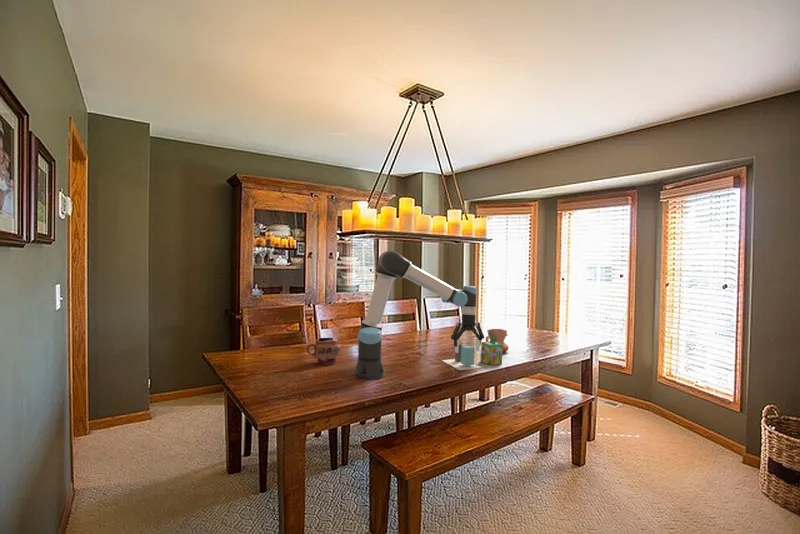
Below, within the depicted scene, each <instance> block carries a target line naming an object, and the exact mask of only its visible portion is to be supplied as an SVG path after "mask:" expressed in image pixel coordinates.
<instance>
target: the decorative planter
mask: <svg viewBox="0 0 800 534" xmlns="http://www.w3.org/2000/svg"><path fill="white" fill-rule="evenodd" d="M312 347H313V348H314V352H313V353H311V352H310V351H309V349H310V348H312ZM342 349H343V345H342V344H341V343H340V341H339V339H337V338H334V337H319V338H317V339H316V340H315V342H311V343H308V344H307V345H306V347H305V350H306V351H305V352H306V353H307V354H308V355H310V356H311V357H313V358H315V359H316V358H317V363H318V364H319V365H321V366H322V365H324V366H325V365H327V366H328V365H333V364H336V363H337V355H338V354H339V352H340V351H341V350H342Z"/></svg>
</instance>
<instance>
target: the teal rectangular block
mask: <svg viewBox="0 0 800 534" xmlns="http://www.w3.org/2000/svg"><path fill="white" fill-rule="evenodd" d="M461 364H463V365H465V366H467V365H474V364H475V347H474V346H471V345H462V346H461Z"/></svg>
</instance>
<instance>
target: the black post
mask: <svg viewBox="0 0 800 534" xmlns="http://www.w3.org/2000/svg"><path fill="white" fill-rule="evenodd" d="M461 346H463V345H462V343H459V348H458V353H456V352H455V351H454V359H455V361H456V362H461Z"/></svg>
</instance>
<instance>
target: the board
mask: <svg viewBox="0 0 800 534" xmlns="http://www.w3.org/2000/svg"><path fill="white" fill-rule="evenodd" d="M441 362H443V363H444V364H447V365H448V366H451V367H452V368H453V369H456V370H458V371H465V370H477V369H482V366H480V365H478V364H475V363H474V365H471V366H468V367H466V366H464V365H463V364H461V362H456V361H455V358H454V359H453V358H452V359H442V360H441Z"/></svg>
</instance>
